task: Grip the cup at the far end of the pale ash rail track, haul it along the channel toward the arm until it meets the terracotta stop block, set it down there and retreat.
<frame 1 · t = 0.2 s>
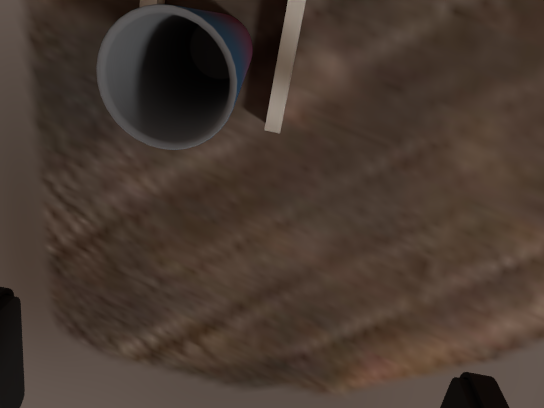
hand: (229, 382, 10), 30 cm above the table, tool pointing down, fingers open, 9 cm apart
cup: (220, 48, 37), on the table
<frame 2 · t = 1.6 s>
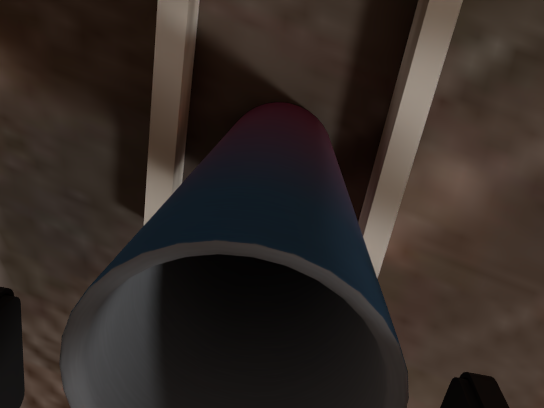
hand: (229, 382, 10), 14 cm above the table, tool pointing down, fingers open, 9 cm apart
cup: (279, 153, 23), on the table
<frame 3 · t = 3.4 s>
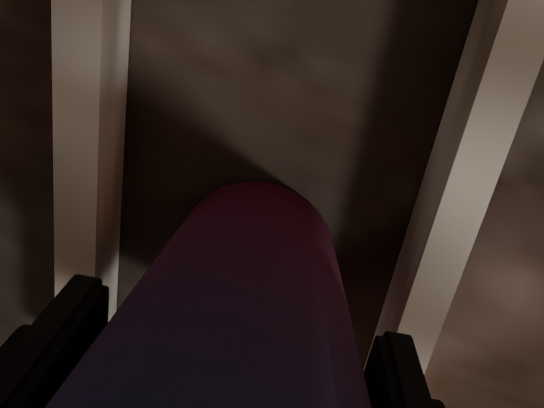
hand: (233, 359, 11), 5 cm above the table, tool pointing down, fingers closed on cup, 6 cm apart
cup: (256, 249, 16), on the table, touching gripper
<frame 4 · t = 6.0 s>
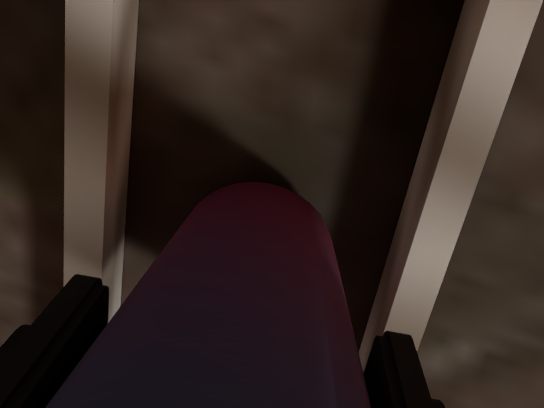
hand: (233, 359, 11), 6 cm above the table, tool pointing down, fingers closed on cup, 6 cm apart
cup: (256, 250, 16), point 1 cm above the table, touching gripper
track: (249, 273, 17), on the table
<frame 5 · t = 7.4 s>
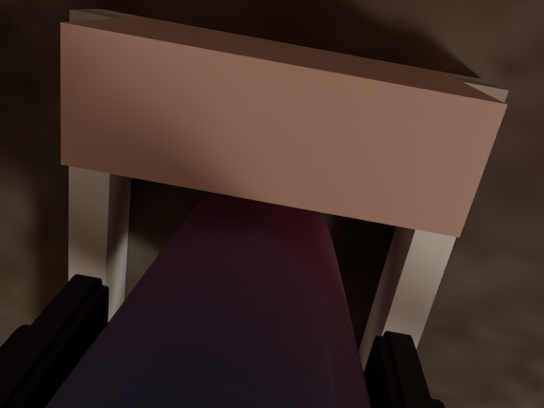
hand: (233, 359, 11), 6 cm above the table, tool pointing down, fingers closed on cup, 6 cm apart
cup: (256, 250, 16), point 1 cm above the table, touching gripper
track: (232, 382, 19), on the table
when the fingers open (5 cm above the table, at t = 8.6 s): cup stays where it is, on the table.
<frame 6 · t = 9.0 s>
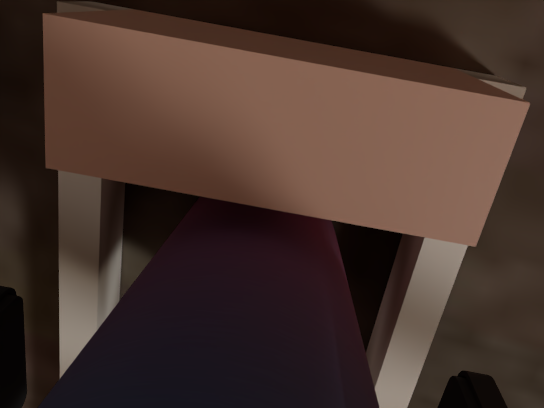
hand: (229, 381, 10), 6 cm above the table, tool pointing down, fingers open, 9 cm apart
cup: (259, 240, 16), on the table
track: (231, 391, 18), on the table
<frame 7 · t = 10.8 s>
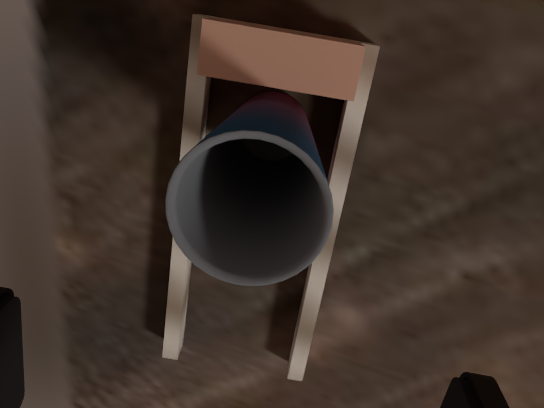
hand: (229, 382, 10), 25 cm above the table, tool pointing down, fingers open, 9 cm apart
cup: (272, 127, 33), on the table
track: (257, 213, 36), on the table
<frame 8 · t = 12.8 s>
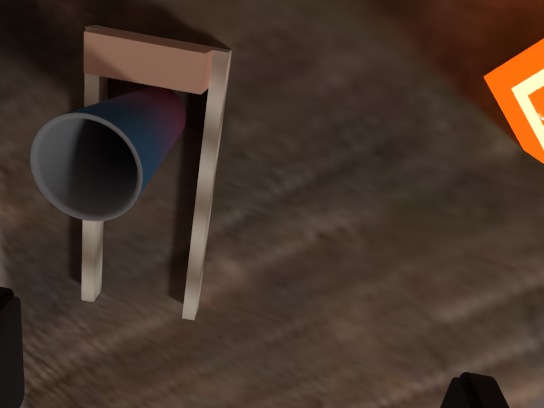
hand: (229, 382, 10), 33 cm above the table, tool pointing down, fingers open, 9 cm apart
cup: (159, 114, 43), on the table
track: (152, 183, 45), on the table
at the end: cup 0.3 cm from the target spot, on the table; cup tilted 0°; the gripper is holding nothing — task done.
